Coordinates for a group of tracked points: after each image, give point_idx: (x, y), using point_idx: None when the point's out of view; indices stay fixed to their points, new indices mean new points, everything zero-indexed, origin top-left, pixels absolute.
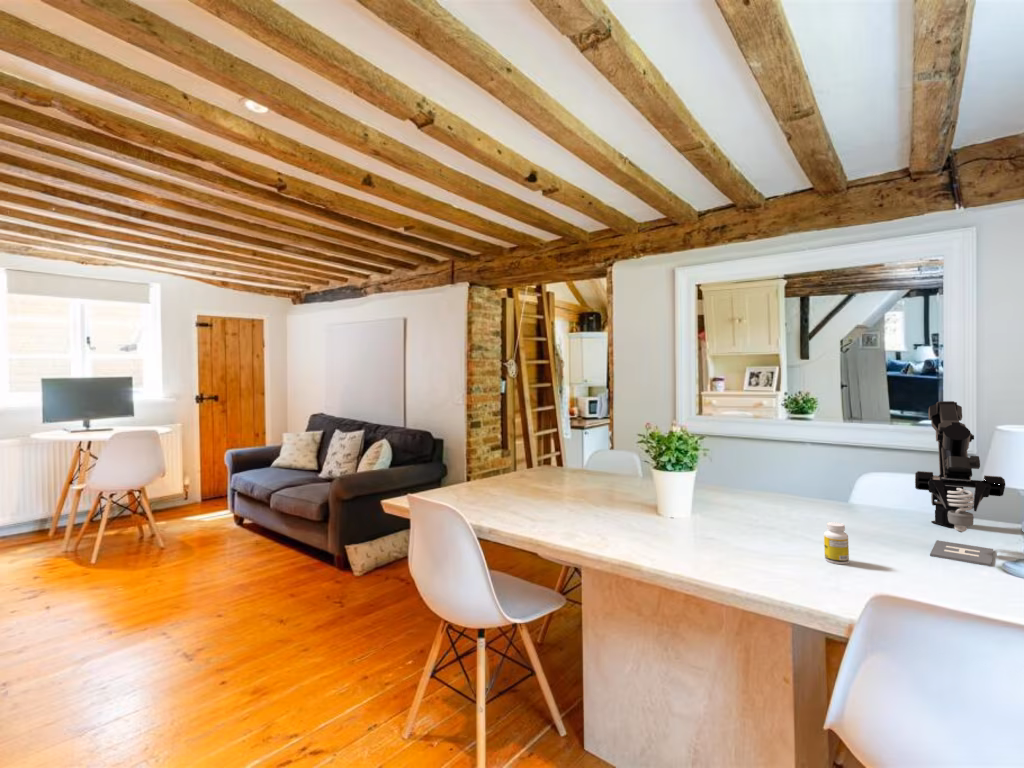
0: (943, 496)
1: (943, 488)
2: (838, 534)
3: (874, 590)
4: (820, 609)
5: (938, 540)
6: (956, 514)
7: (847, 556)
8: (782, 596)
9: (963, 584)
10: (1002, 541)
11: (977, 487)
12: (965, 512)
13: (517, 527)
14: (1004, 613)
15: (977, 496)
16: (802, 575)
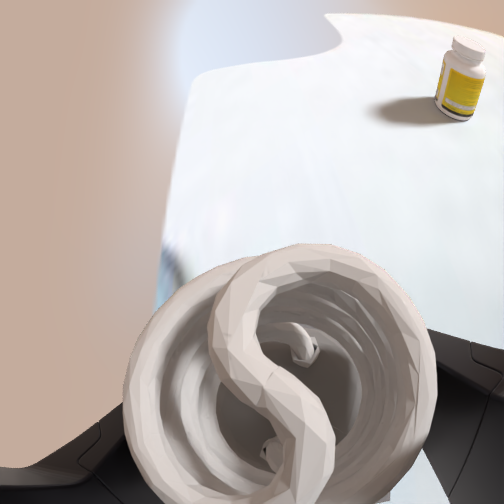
0: (440, 344)
1: (501, 395)
2: (452, 50)
3: (342, 49)
4: (348, 14)
5: (384, 501)
6: (306, 330)
7: (437, 91)
8: (386, 18)
9: (254, 122)
10: None
11: (27, 478)
12: (259, 421)
13: None
14: (203, 74)
15: (106, 433)
16: (423, 51)
